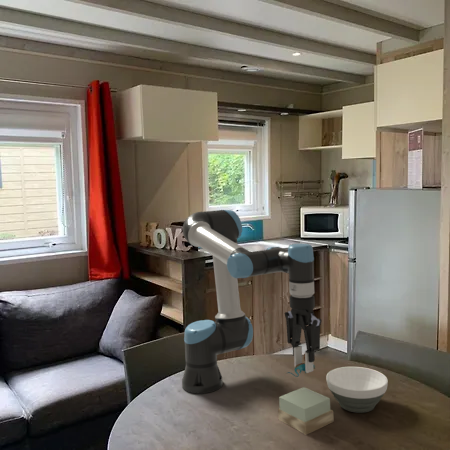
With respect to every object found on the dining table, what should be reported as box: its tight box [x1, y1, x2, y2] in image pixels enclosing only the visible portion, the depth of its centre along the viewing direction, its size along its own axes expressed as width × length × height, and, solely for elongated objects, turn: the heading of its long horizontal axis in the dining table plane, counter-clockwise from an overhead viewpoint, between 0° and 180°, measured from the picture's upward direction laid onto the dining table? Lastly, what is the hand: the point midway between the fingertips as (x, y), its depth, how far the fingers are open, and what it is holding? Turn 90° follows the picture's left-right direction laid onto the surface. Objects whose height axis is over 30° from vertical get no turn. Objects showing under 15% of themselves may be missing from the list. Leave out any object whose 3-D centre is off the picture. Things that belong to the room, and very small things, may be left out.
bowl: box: [325, 366, 389, 414], centre depth 159 cm, size 20×20×10 cm
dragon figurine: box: [286, 353, 316, 378], centre depth 148 cm, size 6×7×8 cm
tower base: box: [277, 407, 334, 436], centre depth 151 cm, size 12×12×4 cm
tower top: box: [278, 386, 331, 422], centre depth 150 cm, size 11×11×4 cm
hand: (303, 369), depth 149 cm, fingers closed on dragon figurine, 4 cm apart
